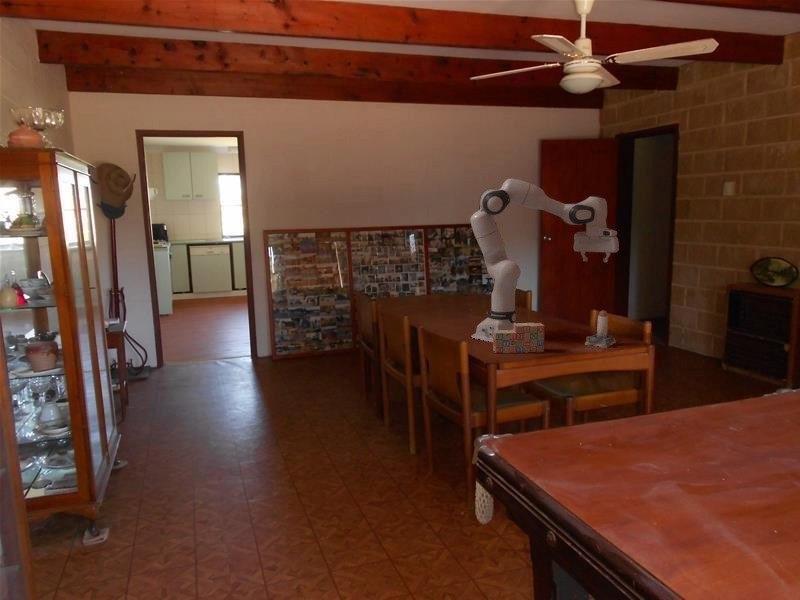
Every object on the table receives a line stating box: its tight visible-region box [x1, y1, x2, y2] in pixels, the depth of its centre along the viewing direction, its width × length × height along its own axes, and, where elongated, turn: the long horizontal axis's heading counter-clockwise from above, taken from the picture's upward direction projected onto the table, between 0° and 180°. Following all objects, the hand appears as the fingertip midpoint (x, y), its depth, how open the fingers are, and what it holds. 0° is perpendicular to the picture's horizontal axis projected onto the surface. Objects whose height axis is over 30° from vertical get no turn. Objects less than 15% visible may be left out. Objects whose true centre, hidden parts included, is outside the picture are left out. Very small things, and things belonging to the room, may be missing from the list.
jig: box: [584, 333, 617, 349], centre depth 272 cm, size 10×12×4 cm
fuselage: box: [596, 310, 609, 339], centre depth 269 cm, size 4×4×14 cm
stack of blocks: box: [492, 322, 545, 354], centre depth 261 cm, size 21×6×12 cm, turn 90°
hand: (595, 261), depth 275 cm, fingers open, 8 cm apart
